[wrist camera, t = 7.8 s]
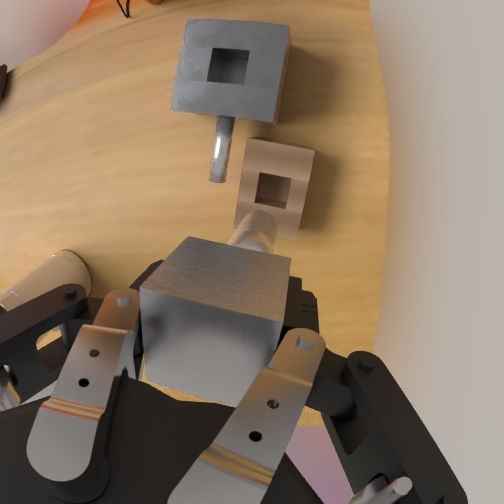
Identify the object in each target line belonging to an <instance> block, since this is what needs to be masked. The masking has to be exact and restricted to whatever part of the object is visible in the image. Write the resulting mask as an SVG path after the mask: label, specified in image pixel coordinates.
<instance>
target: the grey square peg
mask: <svg viewBox="0 0 504 504" xmlns="http://www.w3.org/2000/svg"><path fill="white" fill-rule="evenodd" d="M277 234H278V224H277V222H276V220H275V218H274V217H273V216H272V215H271V214H270V213H268V212H265V211H261V210H256V211H252V212H250V213H248V214H247V215H246V216H245V217H244V218H243V220H242V221H241V223H240V225H239V226H238V228H237V229H236V231H235V232H234V234H233V235H232V237H231V238H230V240H229V242H228V243H227V244H222V243H217V242H213V241H208V240H203V239H198V238H194V237H189V236H188V237H187V238H186V239H185V240H184V241H183V242H182V243H181V244H180V245H179V246H178V247H177V248H176V249H175V250H174V251H173V252H172V253H171V254H170V255H169V256H168V257H167V258H166V259H165V260H164V262H163V263H162V264H161V265H160V266H159V267H158V268H157V269H156V270H155V271H154V272H153V273H152V274H151V275H150V276H149V277H148V278H147V279H146V280H145V281H144V282H143V283H142V285H141V286H140V287H139V288H140V309H141V324H142V337H143V349H144V359H145V368H146V377H147V381H150V382H153V383H156V384H159V385H162V386H165V387H168V388H171V389H174V390H178V391H181V392H184V393H187V394H191V395H194V396H198V397H201V398H205V399H209V400H212V401H216V402H220V403H224V404H228V405H232V406H238V404H239V403H240V401H241V399H242V398H243V396H244V395H245V393H246V392H247V390H248V389H249V387H250V385H251V384H252V382H253V381H254V379H255V378H256V376H257V374H258V373H259V371H260V370H261V368H262V367H263V366H264V365H265V366H268V364H269V363H270V361H271V359H272V357H273V356H274V354H275V350H276V347H277V343H278V340H279V336H280V332H281V329H282V325H283V321H284V313H285V305H286V297H287V289H288V281H289V272H290V263H291V258H288V257H283V256H279V255H274V254H272V253H273V250H274V246H275V242H276V238H277Z"/></svg>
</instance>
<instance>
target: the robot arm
mask: <svg viewBox="0 0 504 504" xmlns="http://www.w3.org/2000/svg"><path fill="white" fill-rule="evenodd" d="M163 262H164V260H159V261H157V262H155V263H152V264H151V265H150V266H149V267H148V268H147V269H146V271H144V272H143V273H142V275H140V276H139V277H138V278H137V279H136V280H135V282H134V283H133V284H132V285H131V286H130V287H129V288H118V289H114V290H112V291H110V292H109V293H108V294H107V295H106V297H105V299H98V298H87V296H88V295H89V293H90V291H91V287H92V282H91V277H90V273H89V271H88V269H87V267H86V265H85V264H84V262H83V261H82V260H81V259H80V258H79V257H78V256H77V255H76V254H74V253H73V252H70V251H67V250H62V251H59V252H57V253H56V254H54V255H53V256H51V257H50V258H48V259H47V260H45V261H44V262H42V263H41V264H39V265H38V266H36V267H35V268H33V269H32V270H30V271H29V272H28V273H26V274H25V275H23V276H22V277H21V278H19V279H18V280H16V281H15V282H14V283H12V284H11V285H9V286H8V287H7V288H5V289H4V290H3V291H1V292H0V504H324V503H323V502H322V501H321V499H320V498H319V497H318V495H317V494H316V493H315V491H314V490H313V489H312V487H311V486H310V485H309V484H308V483H307V481H306V480H305V478H304V477H303V476H302V474H301V473H300V472H299V471H298V469H297V468H296V466H295V465H294V464H293V462H292V461H291V460H290V458H289V457H288V455H287V454H286V453H285V450H286V447H287V445H288V443H289V441H290V439H291V436H292V434H293V432H294V429H295V427H296V425H297V422H298V420H299V418H300V415H301V413H302V410H303V408H304V405H305V406H307V407H310V408H312V409H315V410H317V411H319V412H321V416H322V419H323V421H324V424H325V426H326V428H327V431H328V433H329V435H330V438H331V440H332V443H333V445H334V447H335V450H336V452H337V455H338V457H339V459H340V462H341V464H342V467H343V469H344V471H345V474H346V476H347V479H348V481H349V483H350V486H351V488H352V491H353V493H354V495H355V496H353V497H352V499H351V500H350V502H349V503H348V504H468V500H467V496H466V494H465V491H464V490H463V488H462V486H461V485H460V483H459V481H458V479H457V478H456V476H455V474H454V473H453V471H452V469H451V467H450V466H449V464H448V462H447V461H446V459H445V457H444V456H443V454H442V453H441V451H440V449H439V448H438V446H437V444H436V443H435V441H434V440H433V438H432V436H431V435H430V433H429V432H428V430H427V428H426V427H425V425H424V424H423V422H422V421H421V419H420V417H419V416H418V414H417V413H416V411H415V410H414V408H413V407H412V405H411V403H410V402H409V400H408V399H407V397H406V396H405V394H404V393H403V391H402V390H401V388H400V387H399V385H398V384H397V382H396V381H395V379H394V378H393V376H392V375H391V373H390V372H389V370H388V369H387V367H386V366H385V364H384V363H383V362H382V360H381V359H380V358H378V357H377V356H376V355H374V354H372V353H369V352H366V351H355V352H352V353H351V354H350V355H349V356H348V358H345V357H342V356H340V355H337V354H335V353H333V352H331V351H330V350H328V349H327V348H326V343H325V340H324V339H323V337H322V336H321V335H319V321H318V308H317V299H316V298H315V296H314V295H313V293H312V292H309V291H304V290H302V279H301V278H298V277H293V276H289V281H288V289H287V297H286V305H285V313H284V321H283V325H282V329H281V332H280V336H279V340H278V343H277V347H276V350H275V354H274V356H273V357H272V359H271V361H270V363H269V364H268V366H265V365H264V366H263V367H262V368H261V370H260V371H259V373H258V374H257V376H256V378H255V379H254V381H253V382H252V384H251V385H250V387H249V389H248V390H247V392H246V393H245V395H244V396H243V398H242V399H241V401H240V403H239V404H238V406H237V407H236V408H235V407H230V406H226V405H221V404H217V403H208V402H191V401H179V400H176V399H174V398H172V397H170V396H168V395H167V394H165V393H163V392H161V391H160V390H158V389H156V388H154V387H153V386H151V385H149V384H147V383H144V382H141V379H142V373H143V368H144V363H145V359H144V349H143V337H142V324H141V309H140V288H139V287H140V286H141V285H142V283H143V282H144V281H145V280H146V279H147V278H148V277H149V276H150V275H151V274H152V273H153V272H154V271H155V270H156V269H157V268H158V267H159V266H160V265H161V264H162V263H163ZM59 329H60V331H61V335H62V336H61V337H59V338H58V339H56V340H54V341H53V342H51V343H49V344H47V345H46V346H44V347H42V348H41V349H39V350H37V347H36V346H37V345H38V344H39V343H40V342H41V341H42V340H43V338H44V337H45V336H46V335H47V334H48V333H49V332H50V331H51V330H53V331H58V330H59ZM56 380H57V382H56V385H55V387H54V390H53V392H52V395H50V396H48V397H44V398H42V399H39V400H36V401H32V402H29V403H26V404H23V405H20V404H22V403H23V402H25V401H26V400H28V399H29V398H31V397H32V396H34V395H35V394H37V393H38V392H40V391H41V390H43V389H44V388H46V387H47V386H49V385H50V384H52V383H53V382H54V381H56ZM19 405H20V406H19Z"/></svg>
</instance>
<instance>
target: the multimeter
mask: <svg viewBox="0 0 504 504" xmlns="http://www.w3.org/2000/svg"><path fill="white" fill-rule="evenodd" d="M128 1H129V0H127V2H126V13H127V15H126V13H125V12H124V10H123V8H122V6H121V4H120V2H119V0H117V2H118V4H119V6H120V8H121V10H122V12H123V13H124V15H125V17H126V18H129V14H128ZM145 1H147V2H149V3H150V4H151V5H155V4H157V3H159V2H161V1H162V0H145Z"/></svg>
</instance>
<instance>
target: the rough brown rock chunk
mask: <svg viewBox="0 0 504 504" xmlns="http://www.w3.org/2000/svg"><path fill="white" fill-rule="evenodd" d="M6 71H7V66H6V65H5V64H4V65H2V66H0V101H1V99H2V95H3V91H4V89H5V86H6V79H7V72H6Z"/></svg>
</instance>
